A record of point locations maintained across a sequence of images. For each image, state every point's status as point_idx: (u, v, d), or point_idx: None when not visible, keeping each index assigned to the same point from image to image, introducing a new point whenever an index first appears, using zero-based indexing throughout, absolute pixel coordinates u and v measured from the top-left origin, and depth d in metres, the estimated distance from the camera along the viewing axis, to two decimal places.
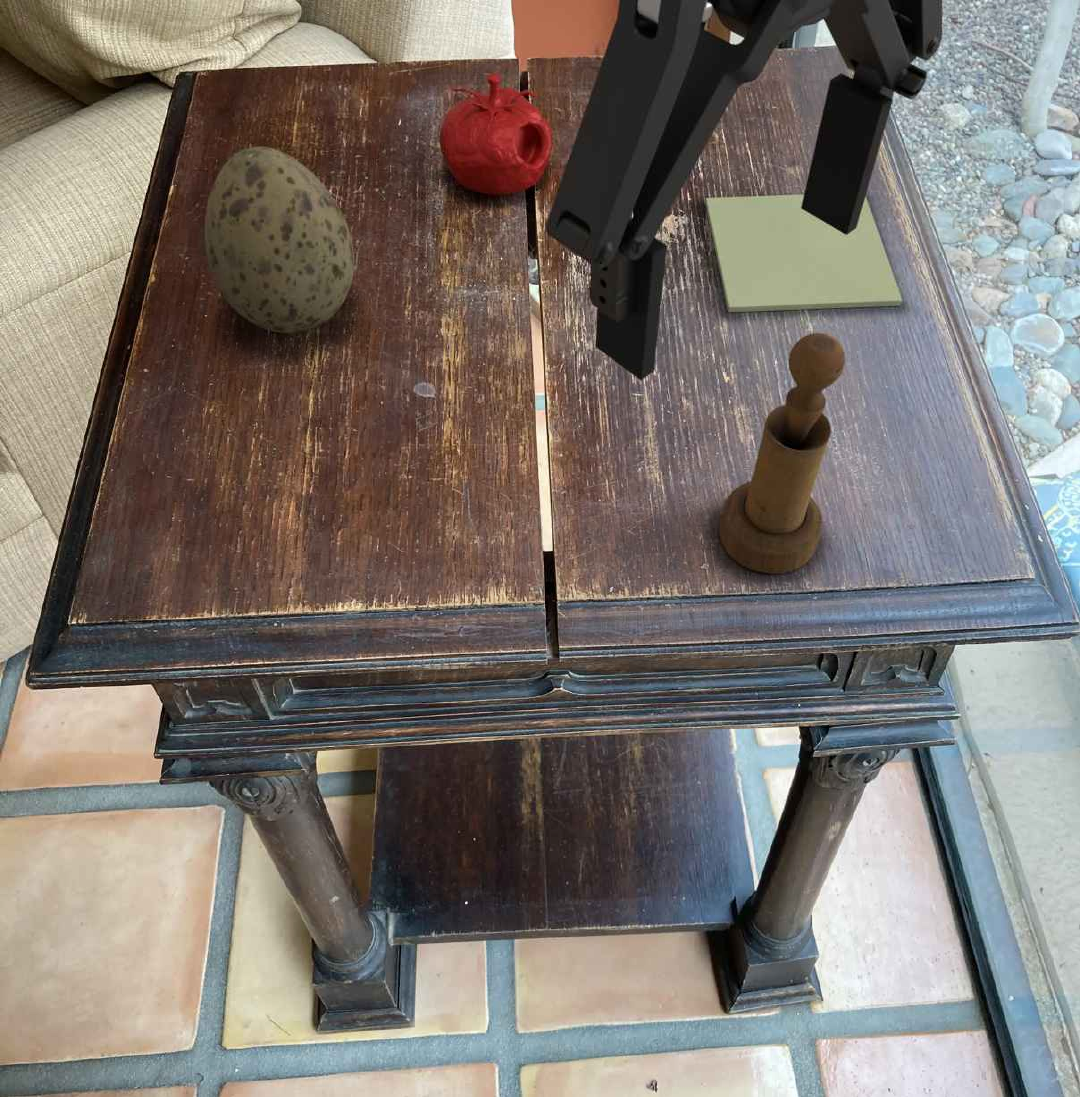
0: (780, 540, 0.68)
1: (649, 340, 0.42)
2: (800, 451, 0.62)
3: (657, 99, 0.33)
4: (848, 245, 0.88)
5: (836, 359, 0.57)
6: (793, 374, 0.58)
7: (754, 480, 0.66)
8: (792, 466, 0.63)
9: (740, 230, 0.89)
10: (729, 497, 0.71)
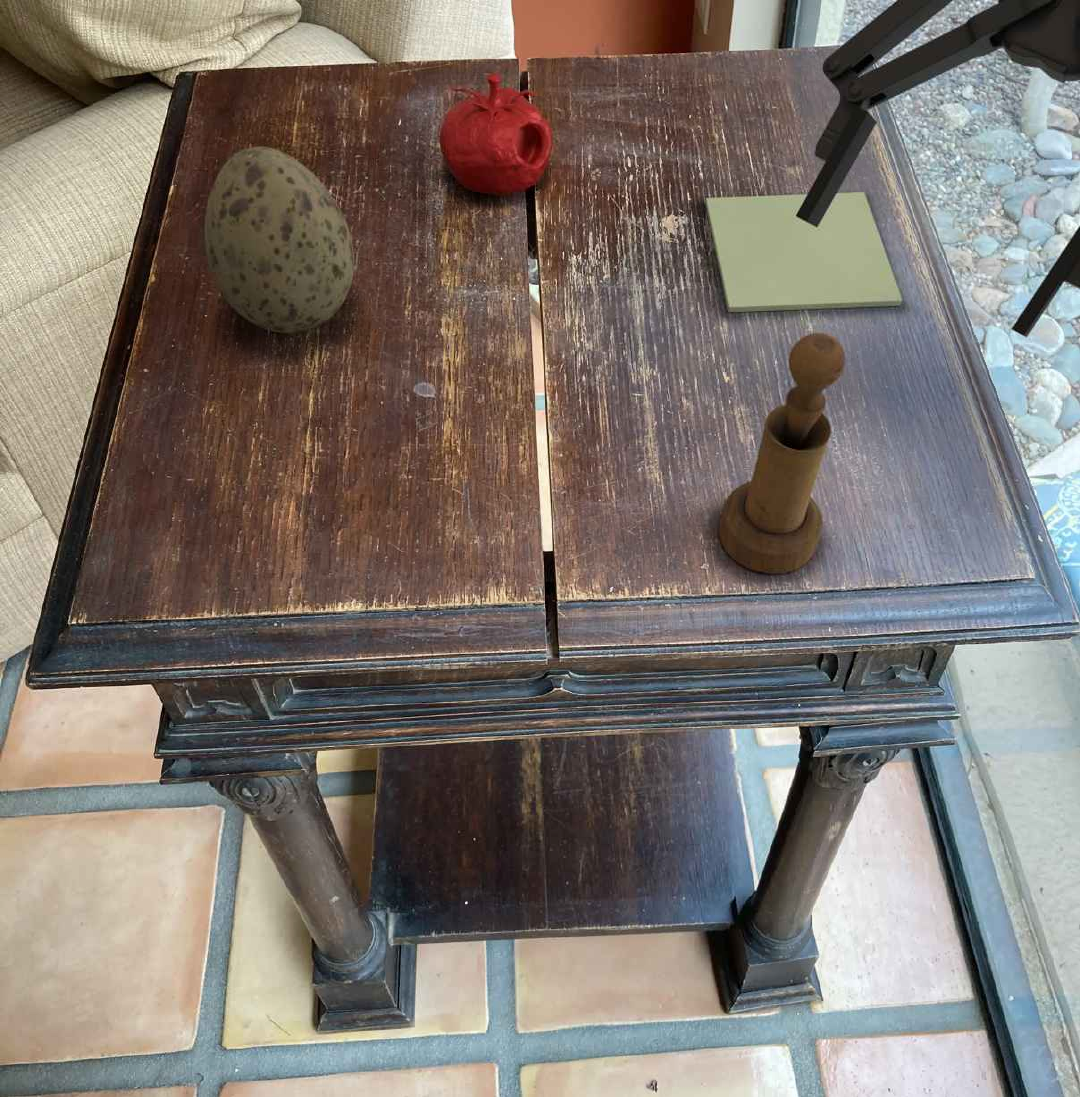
0: (780, 540, 0.68)
1: (818, 184, 0.60)
2: (800, 451, 0.62)
3: None
4: (848, 245, 0.88)
5: (836, 359, 0.57)
6: (793, 374, 0.58)
7: (754, 480, 0.66)
8: (792, 466, 0.63)
9: (740, 230, 0.89)
10: (729, 497, 0.71)
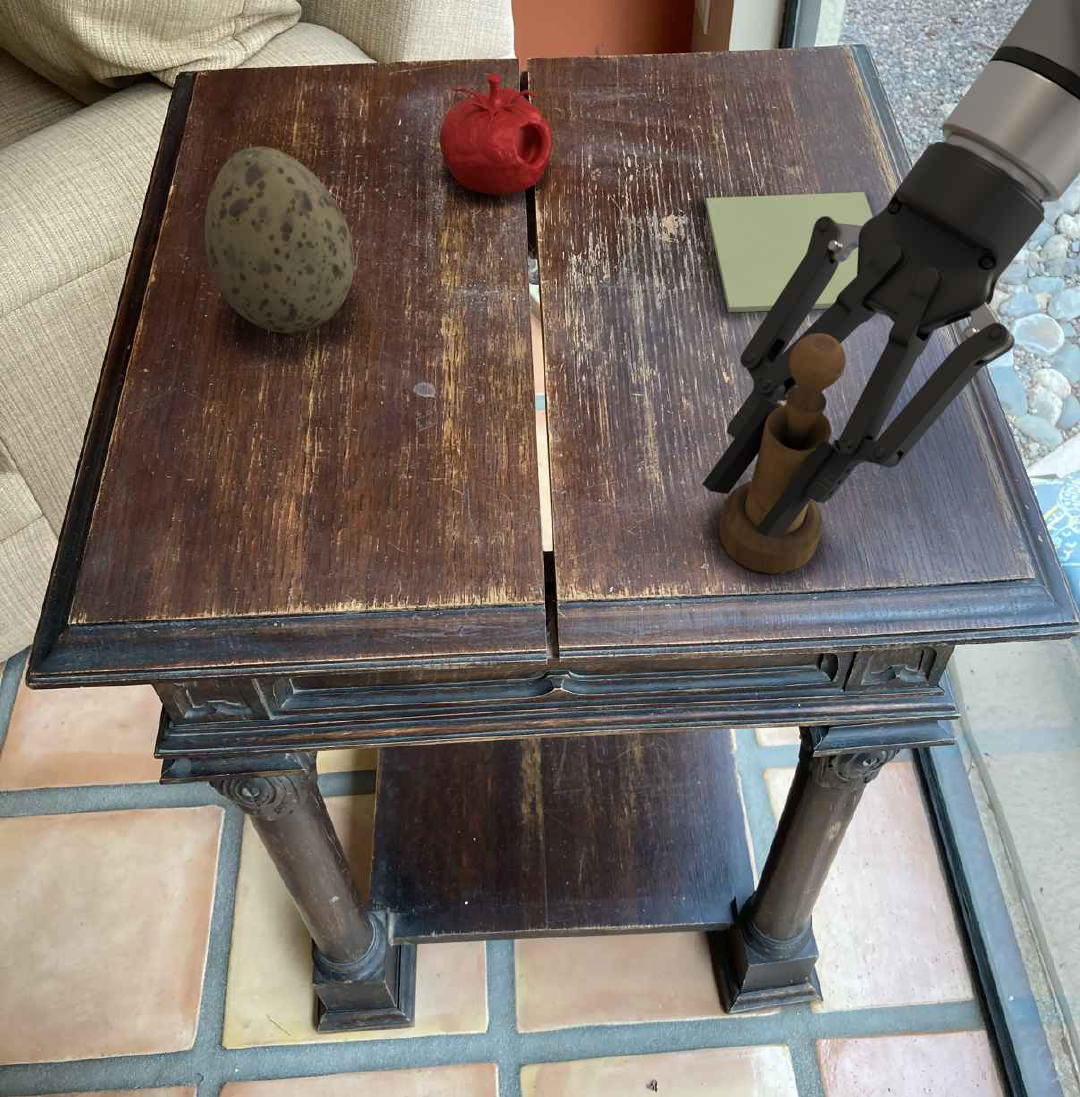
0: (780, 540, 0.68)
1: (724, 459, 0.65)
2: (800, 451, 0.62)
3: (794, 279, 0.63)
4: None
5: (837, 359, 0.57)
6: (793, 374, 0.58)
7: (754, 480, 0.66)
8: (792, 466, 0.63)
9: (740, 230, 0.89)
10: (729, 497, 0.71)
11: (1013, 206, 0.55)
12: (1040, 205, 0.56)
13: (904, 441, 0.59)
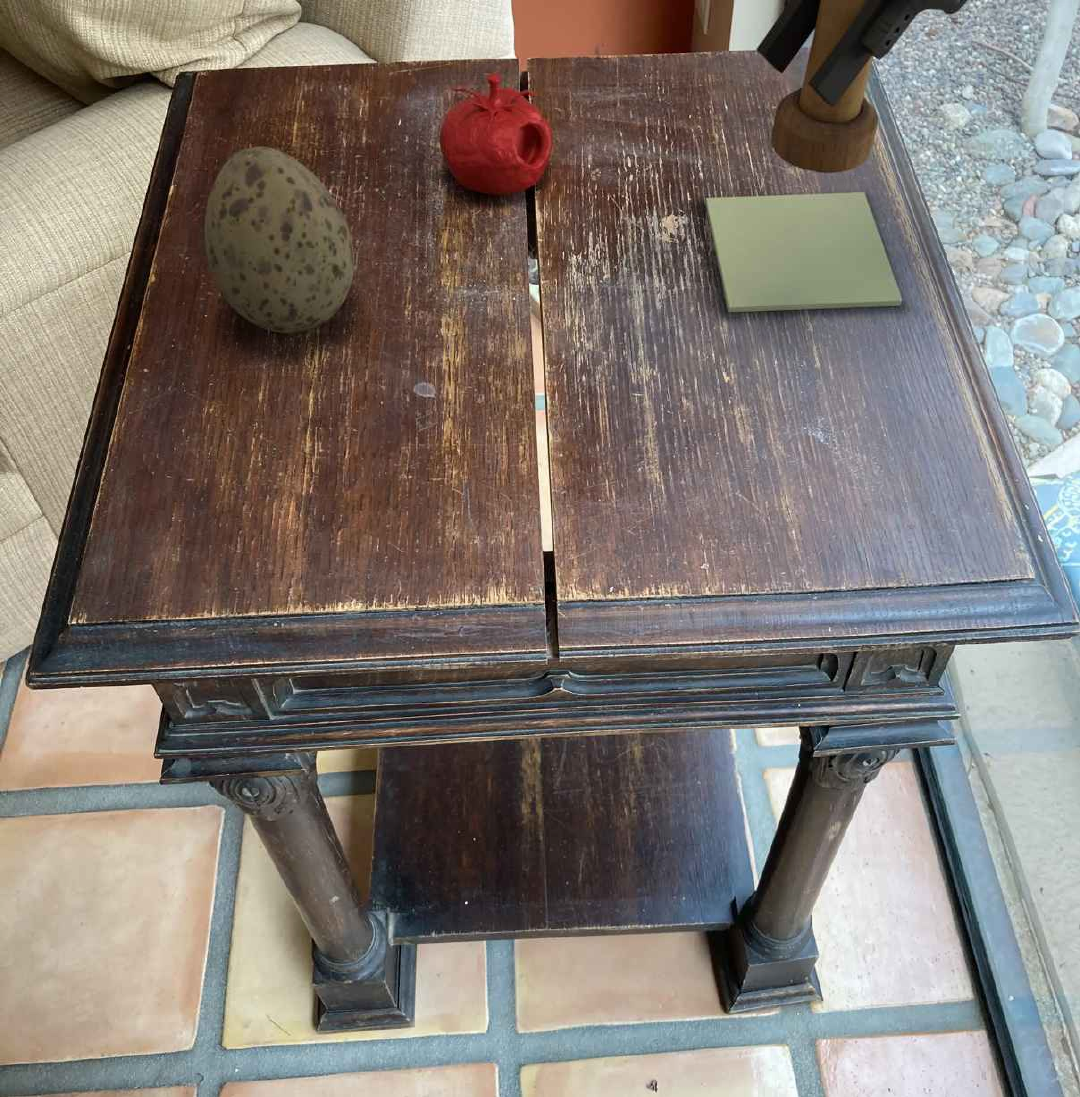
0: (833, 127, 0.67)
1: (781, 20, 0.63)
2: None
3: None
4: (848, 245, 0.88)
5: None
6: None
7: (810, 55, 0.65)
8: (850, 17, 0.61)
9: (740, 230, 0.89)
10: (784, 98, 0.69)
11: None
12: None
13: None
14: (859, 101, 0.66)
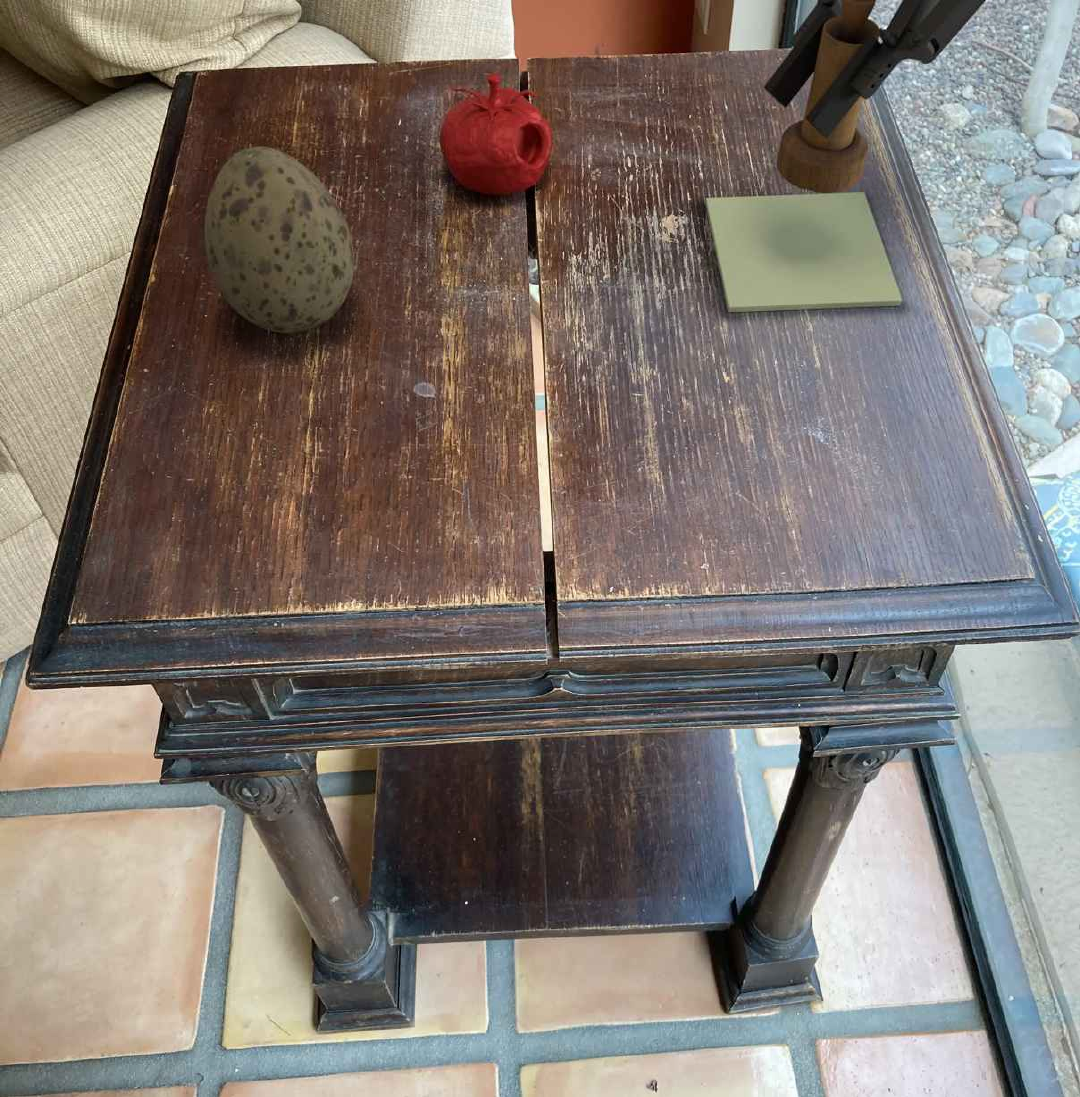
0: (828, 154, 0.78)
1: (785, 63, 0.75)
2: (850, 44, 0.72)
3: None
4: (848, 245, 0.88)
5: None
6: None
7: (810, 92, 0.77)
8: (842, 63, 0.73)
9: (740, 230, 0.89)
10: (788, 127, 0.81)
11: None
12: None
13: (939, 27, 0.69)
14: (851, 133, 0.78)
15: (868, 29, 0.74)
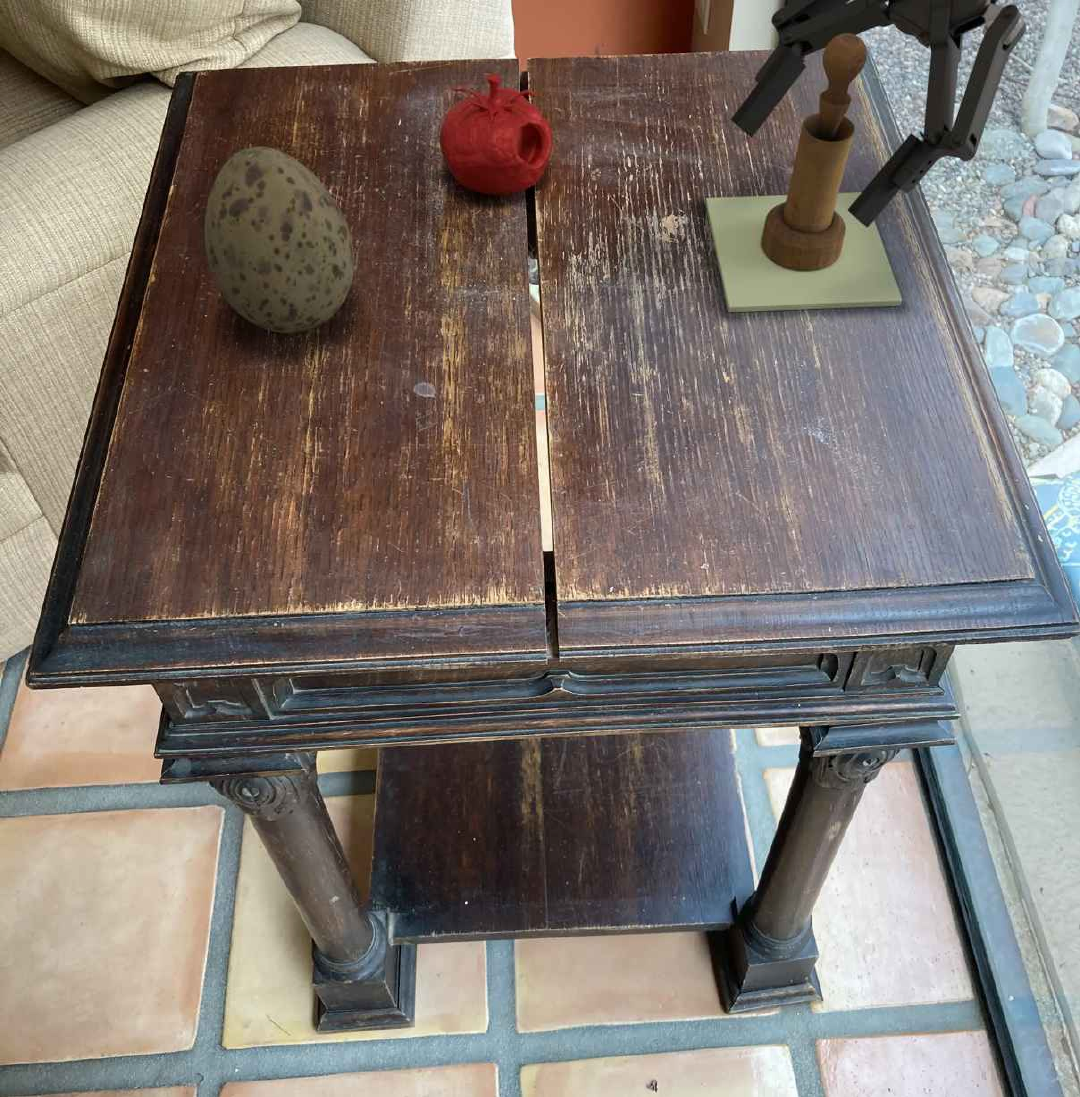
0: (808, 236, 0.84)
1: (750, 98, 0.82)
2: (827, 142, 0.78)
3: None
4: (848, 245, 0.88)
5: (858, 51, 0.73)
6: (825, 66, 0.75)
7: (791, 181, 0.83)
8: (820, 157, 0.79)
9: (740, 230, 0.89)
10: (772, 209, 0.87)
11: None
12: None
13: (973, 121, 0.72)
14: (829, 217, 0.84)
15: (844, 126, 0.80)
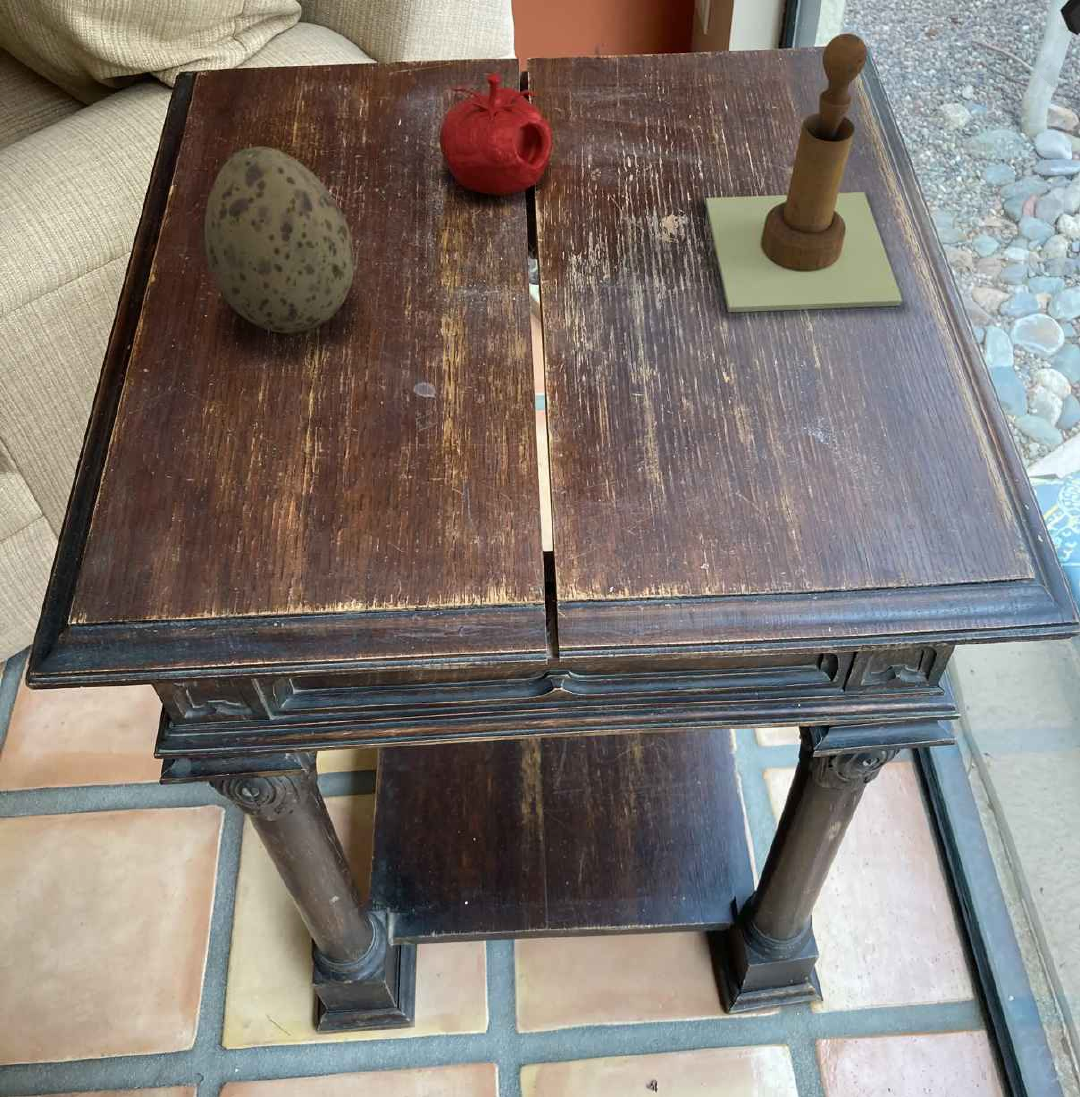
0: (808, 236, 0.84)
1: None
2: (827, 142, 0.78)
3: None
4: (848, 245, 0.88)
5: (858, 51, 0.73)
6: (825, 66, 0.75)
7: (791, 181, 0.83)
8: (820, 157, 0.79)
9: (740, 230, 0.89)
10: (772, 209, 0.87)
11: None
12: None
13: None
14: (829, 217, 0.84)
15: (844, 126, 0.80)
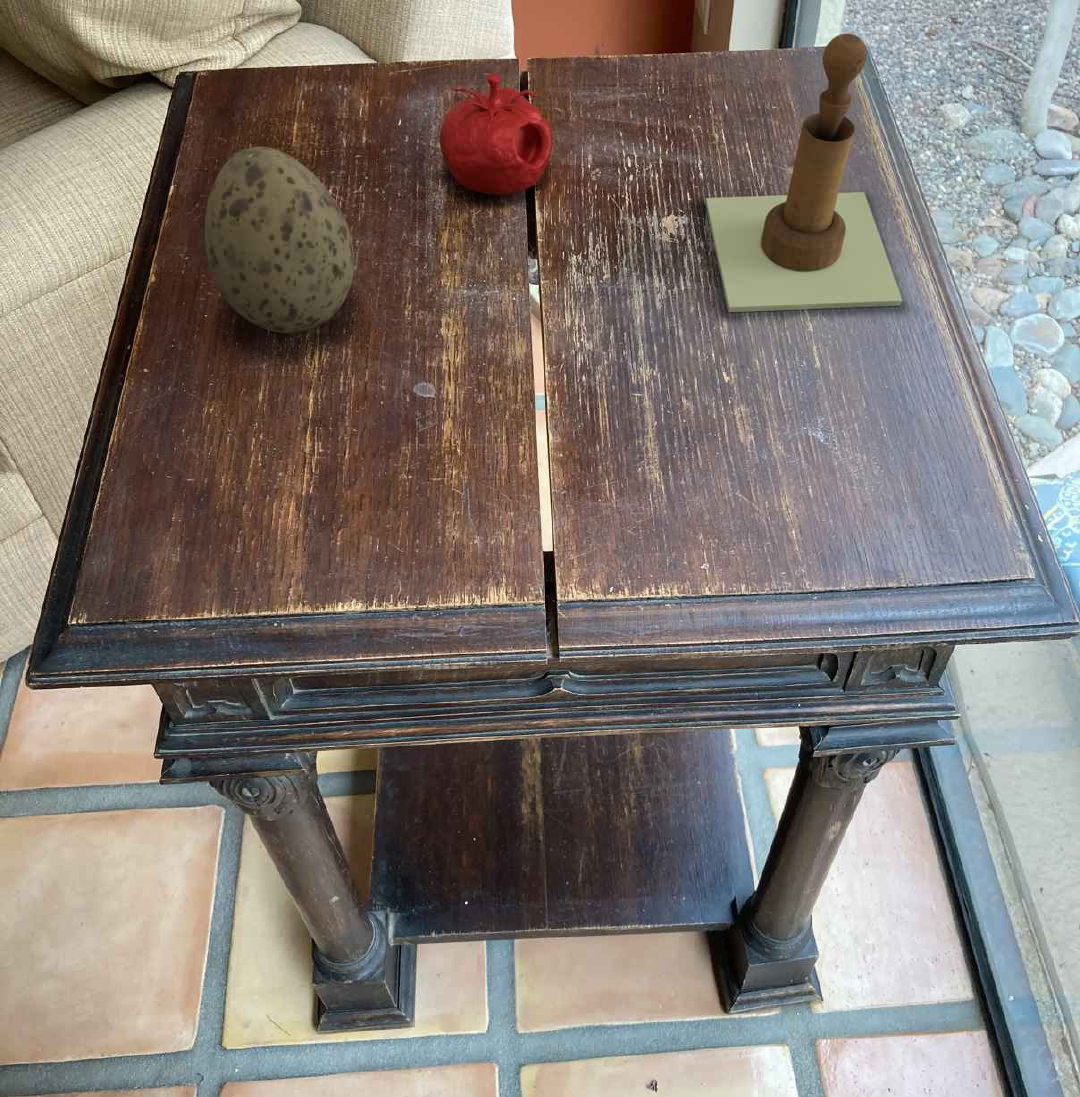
0: (808, 236, 0.84)
1: None
2: (827, 142, 0.78)
3: None
4: (848, 245, 0.88)
5: (859, 51, 0.73)
6: (825, 66, 0.75)
7: (791, 181, 0.83)
8: (820, 157, 0.79)
9: (740, 230, 0.89)
10: (772, 209, 0.87)
11: None
12: None
13: None
14: (829, 217, 0.84)
15: (844, 126, 0.80)
